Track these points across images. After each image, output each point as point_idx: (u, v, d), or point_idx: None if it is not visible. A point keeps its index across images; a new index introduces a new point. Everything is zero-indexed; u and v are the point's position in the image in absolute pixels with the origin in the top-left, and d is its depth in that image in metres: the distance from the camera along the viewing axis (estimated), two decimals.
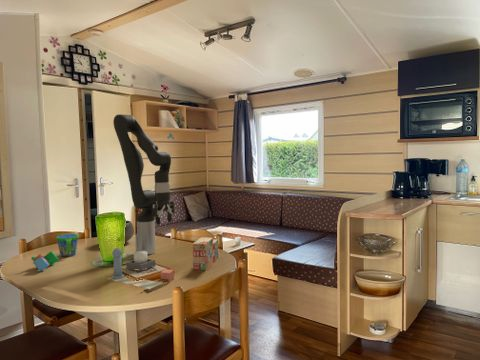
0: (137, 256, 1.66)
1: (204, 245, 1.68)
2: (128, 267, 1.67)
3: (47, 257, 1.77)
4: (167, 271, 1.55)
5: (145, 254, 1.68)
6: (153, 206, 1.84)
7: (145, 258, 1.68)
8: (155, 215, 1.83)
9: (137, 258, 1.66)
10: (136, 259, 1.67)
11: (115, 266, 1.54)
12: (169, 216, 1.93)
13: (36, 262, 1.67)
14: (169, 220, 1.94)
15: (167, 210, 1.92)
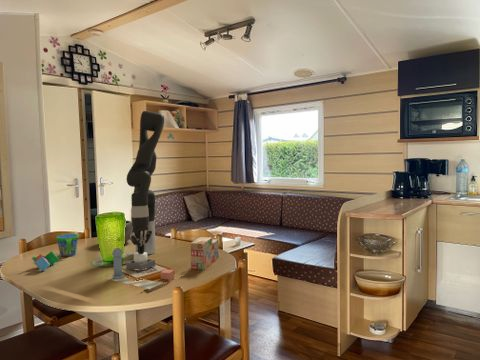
0: (137, 257, 1.66)
1: (202, 245, 1.69)
2: (128, 267, 1.67)
3: (48, 257, 1.77)
4: (167, 271, 1.55)
5: (145, 255, 1.68)
6: (130, 238, 1.64)
7: (145, 259, 1.68)
8: (137, 244, 1.66)
9: (137, 259, 1.66)
10: (136, 260, 1.67)
11: (115, 266, 1.54)
12: None
13: (37, 262, 1.68)
14: None
15: None
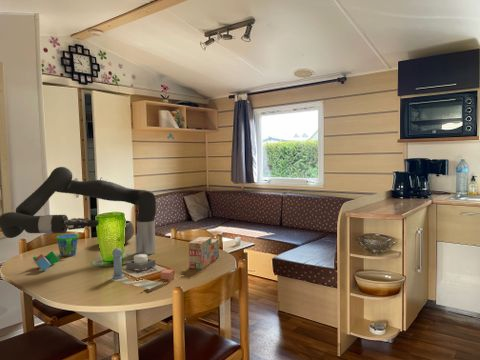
0: (137, 260, 1.66)
1: (199, 244, 1.69)
2: (128, 267, 1.67)
3: (48, 257, 1.77)
4: (167, 271, 1.55)
5: (145, 257, 1.68)
6: (71, 226, 1.47)
7: (145, 261, 1.68)
8: (81, 222, 1.49)
9: (137, 261, 1.66)
10: (136, 262, 1.67)
11: (115, 266, 1.54)
12: None
13: (38, 262, 1.68)
14: (96, 222, 1.54)
15: None
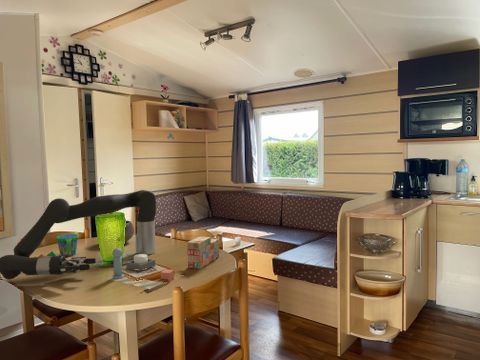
0: (137, 260, 1.66)
1: (198, 244, 1.70)
2: (128, 267, 1.67)
3: None
4: (167, 271, 1.55)
5: (145, 257, 1.68)
6: (62, 270, 1.46)
7: (145, 261, 1.68)
8: (74, 266, 1.46)
9: (137, 261, 1.66)
10: (136, 262, 1.67)
11: (115, 266, 1.54)
12: (88, 260, 1.58)
13: None
14: (93, 260, 1.58)
15: (79, 261, 1.56)
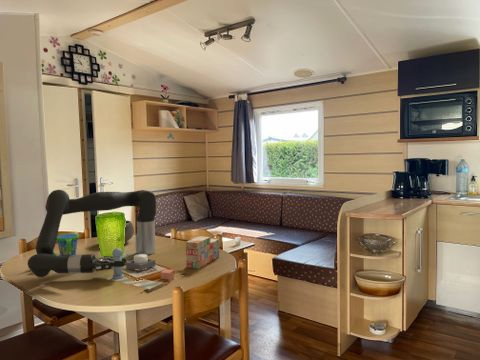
0: (137, 260, 1.66)
1: (196, 244, 1.70)
2: (128, 267, 1.67)
3: None
4: (167, 271, 1.55)
5: (145, 257, 1.68)
6: (98, 268, 1.48)
7: (145, 261, 1.68)
8: (109, 263, 1.50)
9: (137, 261, 1.66)
10: (136, 262, 1.67)
11: None
12: None
13: None
14: (123, 260, 1.57)
15: None
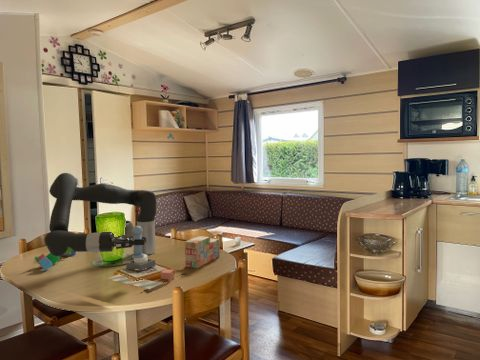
0: (137, 260, 1.66)
1: (195, 244, 1.71)
2: (128, 267, 1.67)
3: (49, 257, 1.77)
4: (167, 271, 1.55)
5: (145, 257, 1.68)
6: (118, 245, 1.42)
7: (145, 261, 1.68)
8: (129, 241, 1.44)
9: (137, 261, 1.66)
10: (136, 262, 1.67)
11: (135, 245, 1.47)
12: None
13: (41, 262, 1.68)
14: (143, 239, 1.50)
15: None
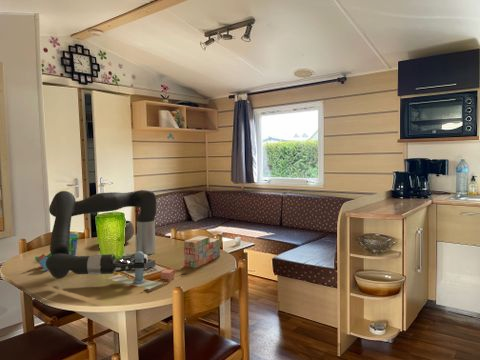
0: None
1: (193, 243, 1.71)
2: None
3: None
4: (167, 271, 1.55)
5: (145, 257, 1.68)
6: (118, 269, 1.42)
7: None
8: (129, 264, 1.43)
9: None
10: None
11: (137, 270, 1.48)
12: None
13: (41, 262, 1.68)
14: (144, 260, 1.52)
15: (129, 261, 1.51)
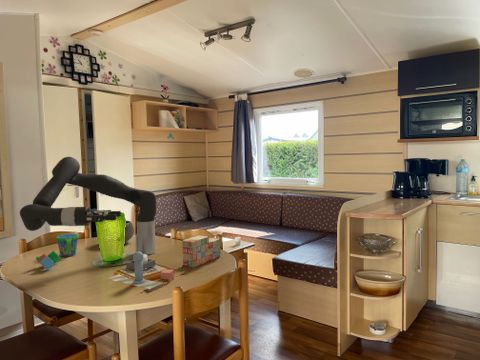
0: None
1: (191, 243, 1.72)
2: (128, 267, 1.67)
3: (50, 257, 1.77)
4: (167, 271, 1.55)
5: (145, 257, 1.68)
6: (88, 219, 1.41)
7: (145, 261, 1.68)
8: (100, 216, 1.41)
9: None
10: None
11: (136, 270, 1.48)
12: (113, 213, 1.53)
13: (43, 261, 1.68)
14: (118, 213, 1.53)
15: (104, 214, 1.51)
